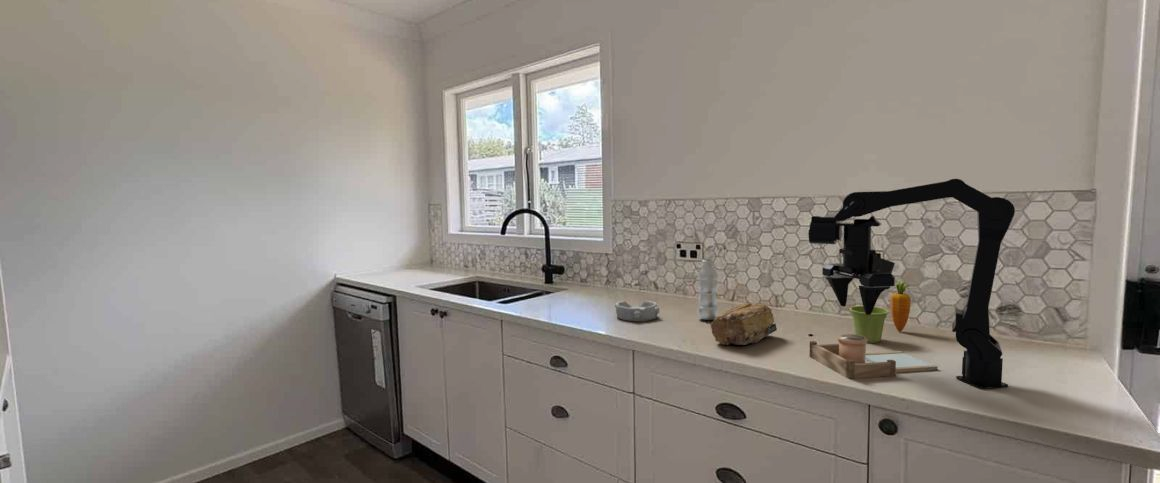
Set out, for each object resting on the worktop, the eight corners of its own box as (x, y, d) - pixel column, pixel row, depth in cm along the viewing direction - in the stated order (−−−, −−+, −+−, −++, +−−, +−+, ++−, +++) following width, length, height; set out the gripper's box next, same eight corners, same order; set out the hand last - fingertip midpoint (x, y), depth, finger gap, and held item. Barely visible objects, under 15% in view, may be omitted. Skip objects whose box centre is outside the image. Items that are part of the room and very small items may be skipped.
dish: (610, 315, 182) (610, 301, 181) (646, 311, 186) (646, 298, 185) (626, 324, 168) (626, 309, 167) (665, 320, 172) (665, 306, 171)
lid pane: (937, 369, 119) (937, 366, 119) (892, 372, 118) (893, 369, 118) (900, 354, 131) (900, 351, 131) (859, 356, 130) (859, 353, 130)
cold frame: (895, 376, 116) (895, 358, 115) (849, 378, 115) (849, 361, 114) (850, 354, 132) (850, 338, 131) (809, 356, 131) (809, 341, 130)
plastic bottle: (693, 319, 173) (693, 259, 171) (709, 316, 175) (709, 258, 174) (705, 323, 167) (705, 261, 165) (722, 320, 170) (722, 260, 168)
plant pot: (893, 345, 138) (894, 313, 138) (855, 344, 140) (855, 312, 139) (880, 336, 147) (881, 306, 147) (844, 335, 149) (845, 305, 149)
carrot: (891, 328, 155) (892, 279, 153) (910, 331, 152) (912, 280, 150) (888, 332, 151) (889, 281, 150) (908, 335, 148) (910, 283, 146)
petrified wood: (750, 351, 135) (742, 313, 136) (707, 352, 144) (699, 317, 145) (779, 333, 150) (772, 299, 150) (738, 335, 158) (731, 303, 159)
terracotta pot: (872, 369, 120) (873, 339, 120) (847, 370, 120) (848, 341, 119) (855, 361, 127) (856, 332, 126) (831, 362, 126) (832, 334, 125)
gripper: (918, 247, 114) (916, 317, 115) (862, 240, 132) (860, 300, 133) (871, 249, 112) (869, 320, 114) (821, 242, 131) (820, 302, 132)
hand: (855, 310), depth 123 cm, fingers open, 9 cm apart
